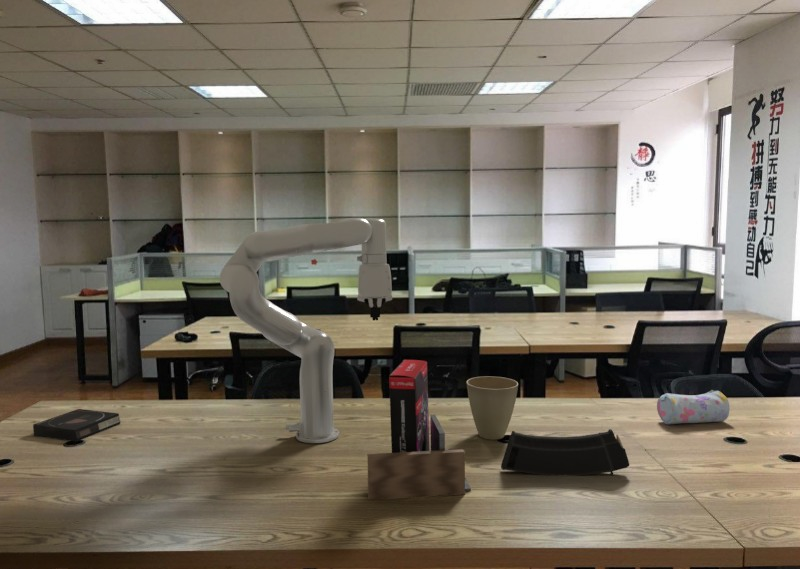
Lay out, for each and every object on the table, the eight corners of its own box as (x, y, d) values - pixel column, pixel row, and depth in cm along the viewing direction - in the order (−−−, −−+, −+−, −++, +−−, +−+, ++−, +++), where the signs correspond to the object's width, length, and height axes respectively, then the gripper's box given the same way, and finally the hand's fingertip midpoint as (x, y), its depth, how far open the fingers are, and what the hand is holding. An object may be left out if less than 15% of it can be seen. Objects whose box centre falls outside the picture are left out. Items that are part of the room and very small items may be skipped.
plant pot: (495, 448, 164) (495, 391, 163) (456, 435, 176) (455, 382, 174) (528, 435, 174) (528, 382, 173) (489, 424, 185) (489, 373, 184)
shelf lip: (368, 499, 134) (367, 456, 133) (368, 496, 135) (367, 454, 135) (464, 494, 136) (464, 451, 135) (463, 491, 138) (463, 449, 137)
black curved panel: (492, 439, 146) (612, 405, 143) (491, 434, 150) (609, 401, 147) (512, 504, 147) (632, 472, 144) (510, 498, 151) (628, 466, 148)
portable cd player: (77, 443, 174) (76, 430, 174) (33, 437, 180) (33, 424, 179) (120, 425, 190) (120, 413, 189) (79, 420, 195) (78, 408, 195)
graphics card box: (418, 491, 138) (417, 375, 136) (389, 488, 140) (388, 374, 137) (430, 462, 155) (429, 359, 152) (404, 461, 156) (402, 358, 154)
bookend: (439, 492, 137) (439, 433, 136) (430, 468, 151) (430, 414, 150) (470, 491, 138) (470, 432, 137) (458, 467, 152) (458, 413, 150)
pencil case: (712, 415, 191) (713, 386, 190) (732, 424, 183) (733, 394, 182) (653, 420, 187) (654, 390, 186) (671, 429, 179) (672, 398, 178)
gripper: (349, 261, 177) (350, 322, 178) (399, 260, 178) (400, 321, 180) (349, 259, 184) (350, 318, 186) (397, 259, 185) (398, 317, 187)
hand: (375, 319), depth 183 cm, fingers closed
